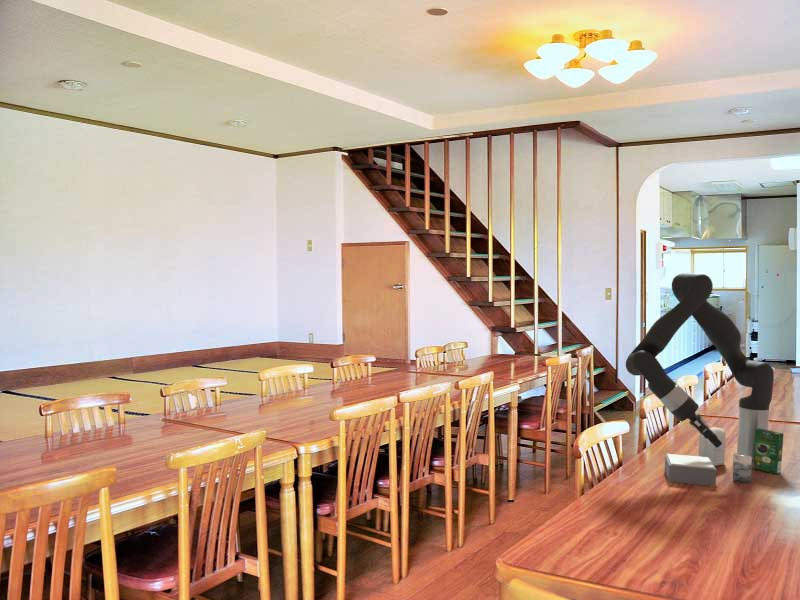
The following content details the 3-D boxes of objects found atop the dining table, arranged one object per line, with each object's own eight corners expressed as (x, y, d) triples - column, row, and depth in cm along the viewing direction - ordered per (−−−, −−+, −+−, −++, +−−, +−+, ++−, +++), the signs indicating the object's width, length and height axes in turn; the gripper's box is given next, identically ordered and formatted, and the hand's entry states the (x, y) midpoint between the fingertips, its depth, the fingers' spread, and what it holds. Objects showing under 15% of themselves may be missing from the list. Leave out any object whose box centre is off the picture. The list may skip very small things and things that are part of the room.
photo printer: (714, 461, 235) (715, 424, 234) (726, 464, 231) (728, 427, 231) (696, 465, 229) (697, 428, 228) (708, 468, 225) (709, 430, 225)
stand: (664, 470, 222) (665, 453, 222) (708, 474, 219) (709, 456, 218) (668, 481, 210) (669, 463, 209) (715, 486, 206) (716, 467, 206)
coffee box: (782, 473, 221) (784, 432, 221) (777, 475, 220) (779, 433, 219) (757, 467, 228) (759, 427, 227) (752, 468, 226) (754, 428, 226)
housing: (731, 478, 215) (732, 452, 215) (748, 479, 214) (750, 453, 213) (734, 482, 210) (735, 456, 210) (752, 484, 209) (753, 457, 209)
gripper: (690, 398, 209) (731, 439, 206) (685, 391, 222) (723, 429, 220) (671, 414, 210) (711, 456, 208) (666, 406, 224) (704, 445, 221)
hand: (717, 442), depth 214 cm, fingers open, 8 cm apart
